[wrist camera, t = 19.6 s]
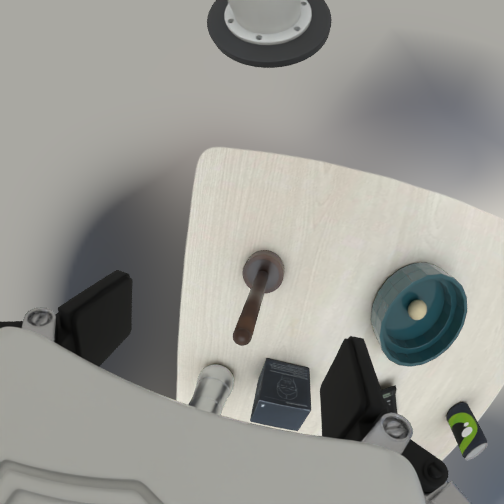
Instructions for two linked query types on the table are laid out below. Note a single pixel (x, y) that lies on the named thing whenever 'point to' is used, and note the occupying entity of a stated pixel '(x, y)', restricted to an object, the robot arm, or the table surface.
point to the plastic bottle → (213, 389)
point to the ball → (417, 309)
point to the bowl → (426, 329)
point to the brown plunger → (257, 290)
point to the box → (282, 395)
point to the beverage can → (466, 431)
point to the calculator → (390, 399)
